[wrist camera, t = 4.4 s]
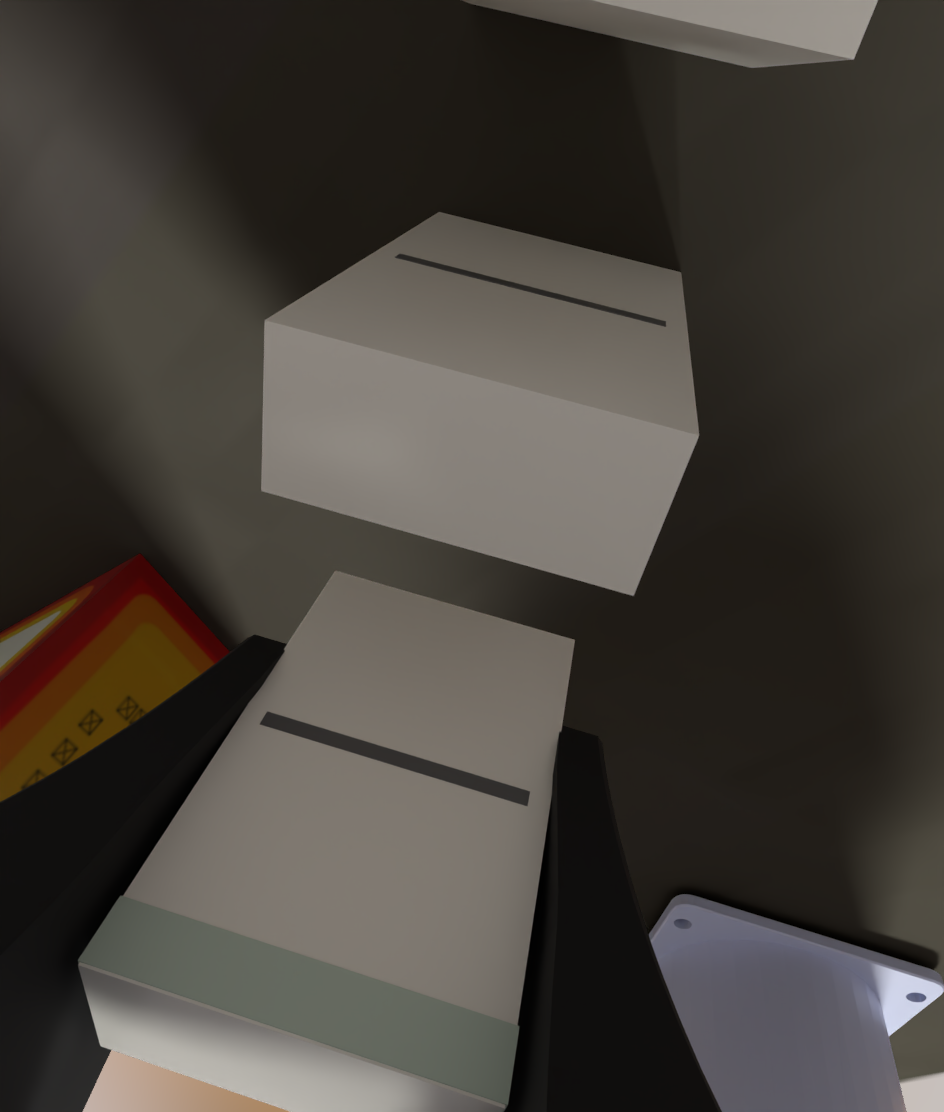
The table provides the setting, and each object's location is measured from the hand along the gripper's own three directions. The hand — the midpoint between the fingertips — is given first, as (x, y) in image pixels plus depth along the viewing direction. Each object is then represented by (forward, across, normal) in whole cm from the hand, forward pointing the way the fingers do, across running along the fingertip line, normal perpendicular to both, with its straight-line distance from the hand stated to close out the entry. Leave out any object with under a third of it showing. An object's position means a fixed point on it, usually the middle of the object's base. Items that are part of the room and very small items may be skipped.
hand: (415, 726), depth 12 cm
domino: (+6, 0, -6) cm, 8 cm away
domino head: (+2, 0, 0) cm, 2 cm away
